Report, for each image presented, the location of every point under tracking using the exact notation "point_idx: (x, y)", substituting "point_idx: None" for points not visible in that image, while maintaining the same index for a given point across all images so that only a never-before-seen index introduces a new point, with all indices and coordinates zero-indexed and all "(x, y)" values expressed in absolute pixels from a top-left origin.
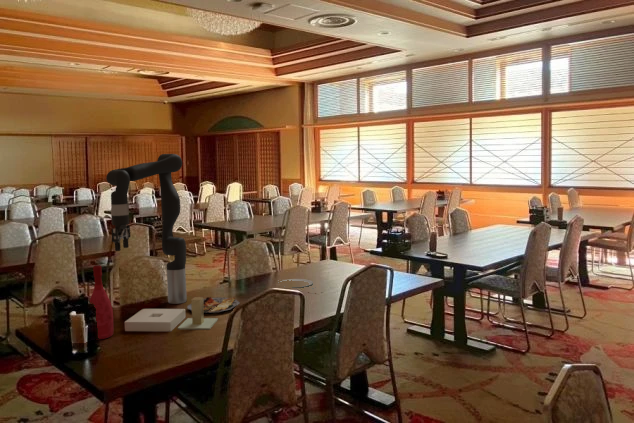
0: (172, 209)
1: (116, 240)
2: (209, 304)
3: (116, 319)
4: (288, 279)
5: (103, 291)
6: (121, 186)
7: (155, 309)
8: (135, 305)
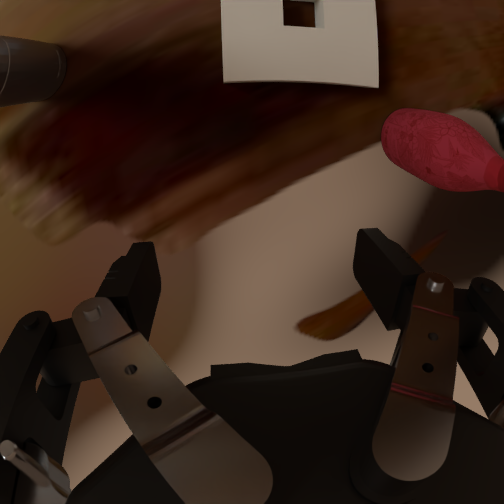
0: None
1: (496, 294)
2: None
3: (253, 162)
4: None
5: (494, 151)
6: None
7: (230, 33)
8: (95, 183)
